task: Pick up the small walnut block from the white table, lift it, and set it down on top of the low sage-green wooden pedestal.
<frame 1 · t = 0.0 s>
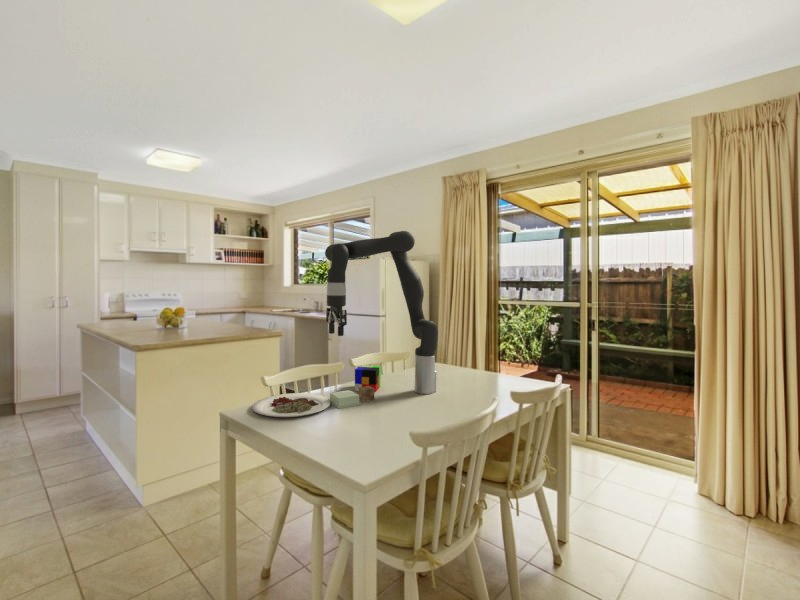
hand: (336, 334, 163), 29 cm above the table, fingers open, 8 cm apart
walnut block: (366, 399, 176), on the table
pedestal: (344, 403, 169), on the table
puzzle toy: (367, 389, 194), on the table
plated food: (292, 408, 163), on the table
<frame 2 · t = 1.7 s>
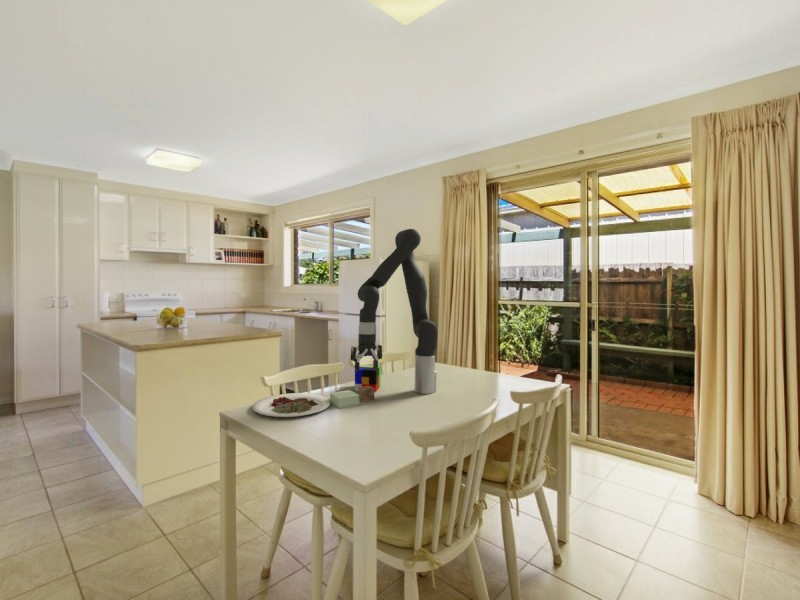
hand: (366, 369, 176), 13 cm above the table, fingers open, 8 cm apart
nothing on the table moved.
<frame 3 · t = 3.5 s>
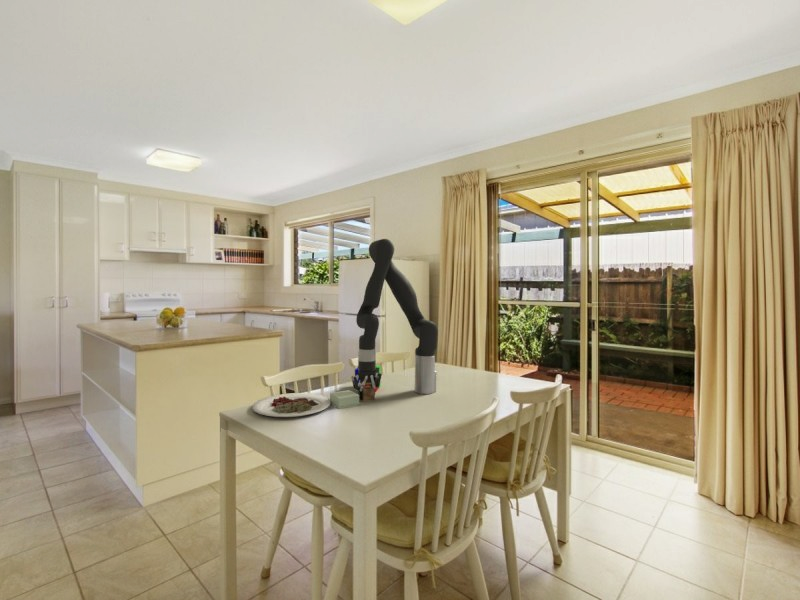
hand: (366, 398, 176), 0 cm above the table, fingers closed on walnut block, 5 cm apart
walnut block: (366, 399, 176), on the table, touching gripper
everything else where it was.
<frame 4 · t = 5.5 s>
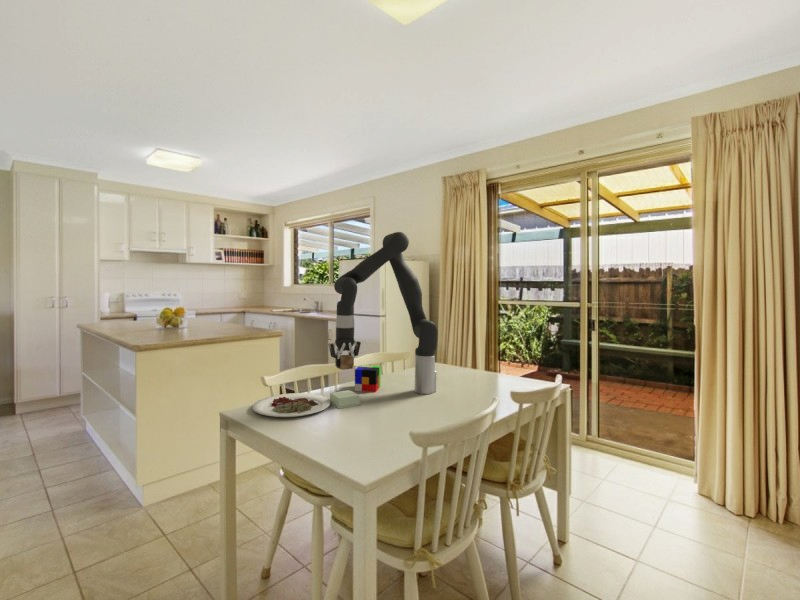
hand: (344, 366, 168), 15 cm above the table, fingers closed on walnut block, 5 cm apart
walnut block: (344, 368, 169), point 15 cm above the table, touching gripper
everything else where it was.
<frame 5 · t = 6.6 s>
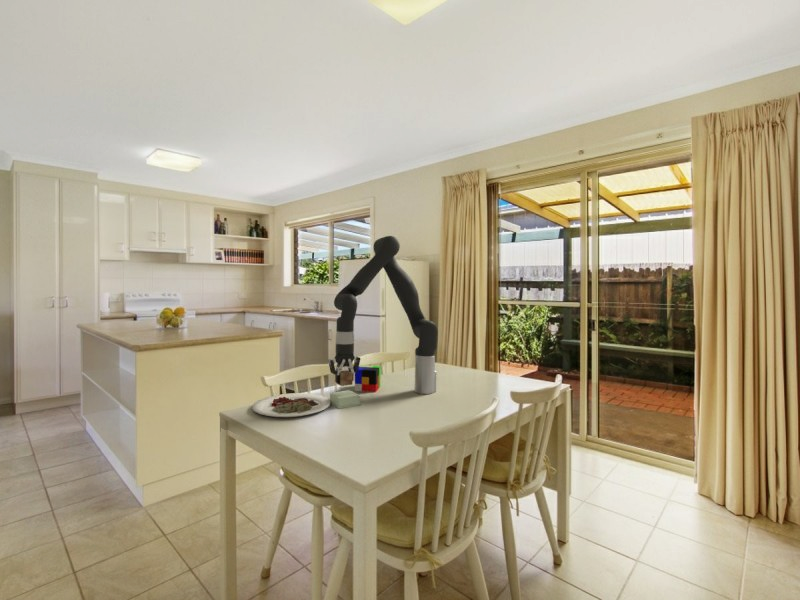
hand: (344, 382, 169), 9 cm above the table, fingers closed on walnut block, 5 cm apart
walnut block: (344, 383, 169), point 8 cm above the table, touching gripper
everything else where it was.
when the fingers open (6 cm above the table, at t = 7.6 s): walnut block drops 1 cm, resting on pedestal.
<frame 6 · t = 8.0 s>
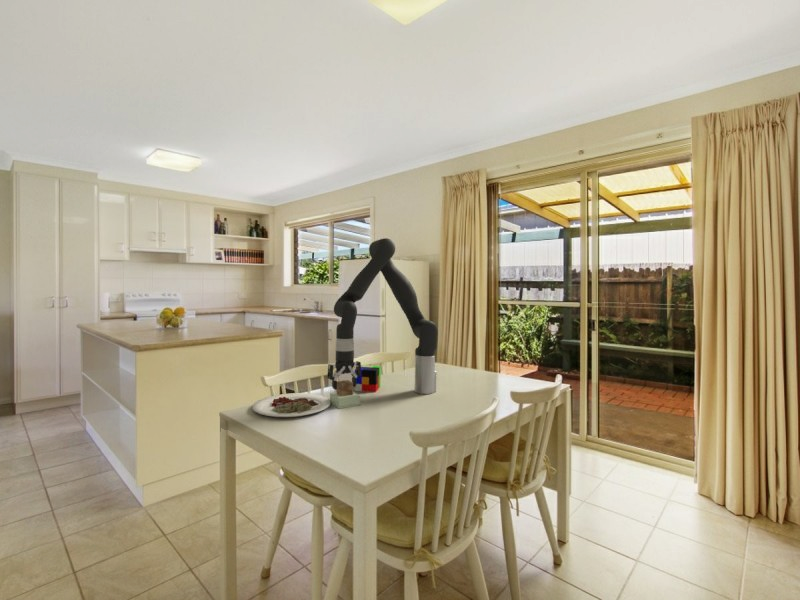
hand: (344, 387, 169), 7 cm above the table, fingers open, 8 cm apart
walnut block: (344, 394, 169), point 4 cm above the table, touching pedestal
everything else where it was.
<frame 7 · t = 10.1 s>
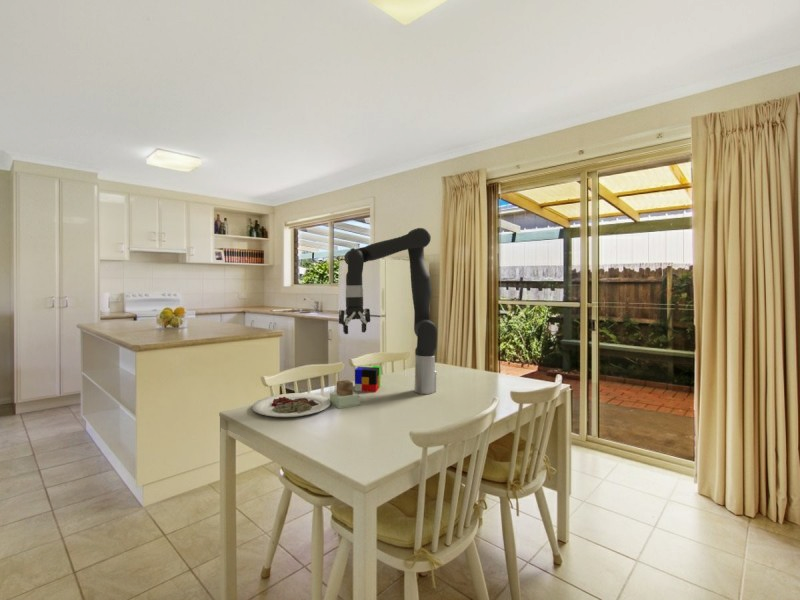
hand: (354, 333, 177), 28 cm above the table, fingers open, 8 cm apart
nothing on the table moved.
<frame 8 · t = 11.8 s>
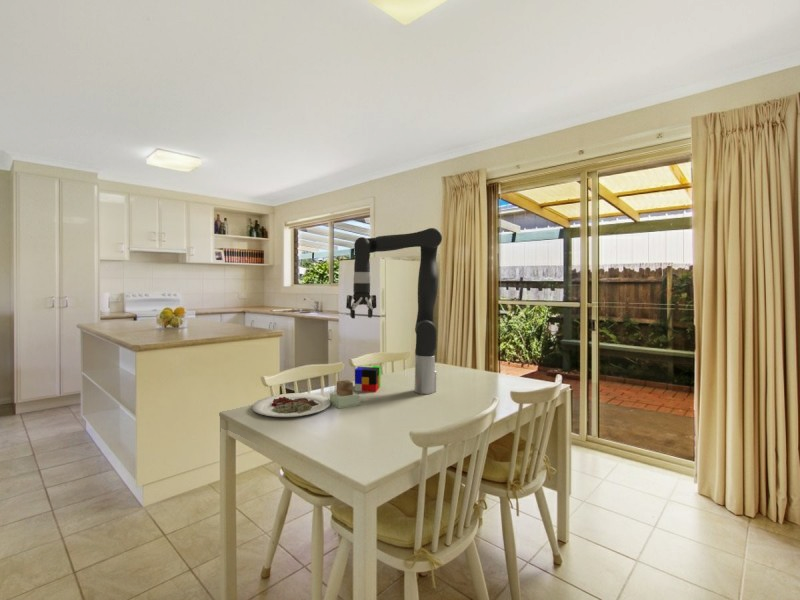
hand: (361, 318, 185), 34 cm above the table, fingers open, 8 cm apart
nothing on the table moved.
at the end: walnut block inside the target area on the pedestal (0.1 cm from its centre), point 4.0 cm above the pedestal's base; walnut block tilted 0°; the gripper is holding nothing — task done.
